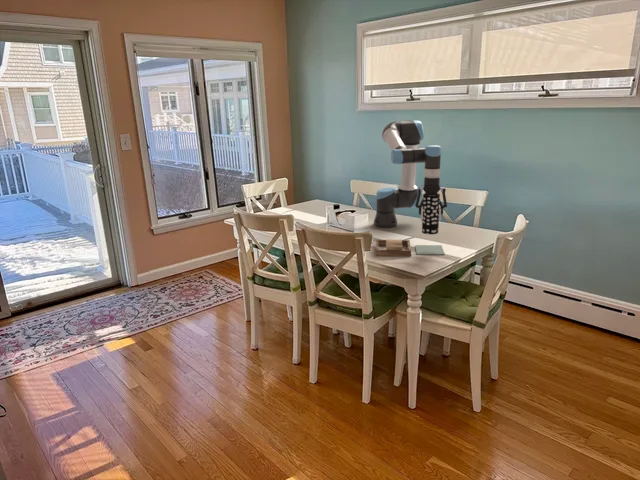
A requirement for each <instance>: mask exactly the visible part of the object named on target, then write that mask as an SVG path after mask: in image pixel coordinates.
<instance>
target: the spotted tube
mask: <svg viewBox="0 0 640 480" xmlns="http://www.w3.org/2000/svg"><path fill="white" fill-rule="evenodd" d="M437 194H438V195H425V193H423V194H422V199H423V206H422V208H423V221H421V233H422V234H425V235H437V234H439V225H440V221H439V208H440V205H439V201H441V194H440V193H439V192H438V193H437Z"/></svg>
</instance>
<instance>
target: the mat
mask: <svg viewBox="0 0 640 480" xmlns="http://www.w3.org/2000/svg"><path fill="white" fill-rule="evenodd" d="M414 247H415V253H416V255H417V256H418V255H419V256H423V255H424V256H439V255H440V256H445V255H446V253H445V251H444V249H443V246H442V245H441V244H440V245H439V244H415V245H414Z"/></svg>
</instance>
